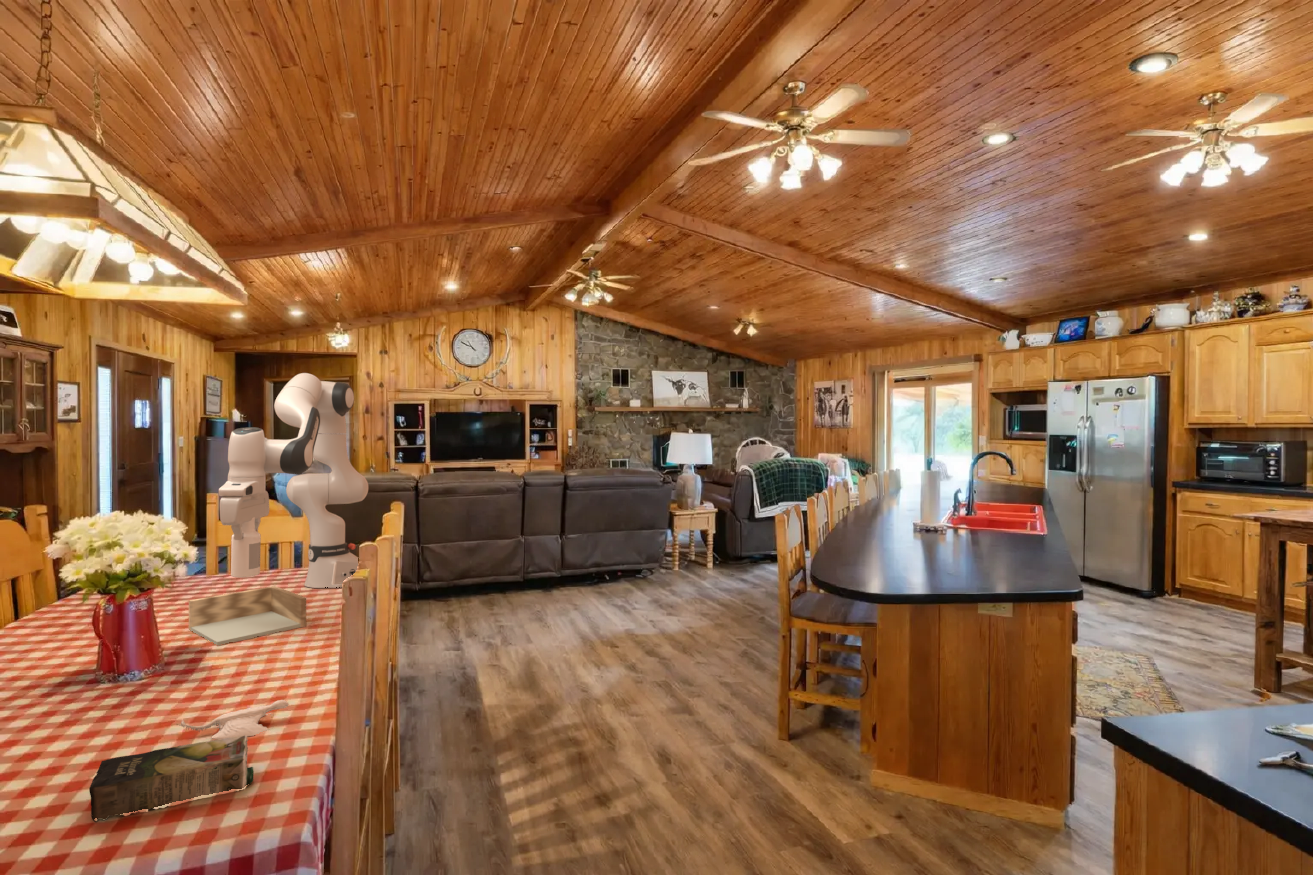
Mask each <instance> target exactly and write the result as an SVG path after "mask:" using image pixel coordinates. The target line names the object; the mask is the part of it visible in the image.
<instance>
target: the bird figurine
mask: <svg viewBox="0 0 1313 875" xmlns="http://www.w3.org/2000/svg"><path fill="white" fill-rule="evenodd" d="M289 705H290V704H289V702H287V701H286V700H284V699H280V700H279V699H278V700H276V701H273V702H272V703H270V704H267V705H259V706H254V707H248V708H245V709H238V710H236V711H230V712H228V713H224V714H221V715H219V716H217V717H216V718H213V719H212V720H211V721H210V722H209V723H208V724H204V725H199V726H198V725H197V726H196V725H189V724H187V723H185V721H184V720H182V721H181V722H180V723H181V724H177V723H176V726H180V727H183V728H185V730H186V731H187V730H188V731H189V730H190V729H191V731H198V732H200V731H202V732H203V731H206V730H207V729H210V728H211V727H212V726H217V729H219V730H218V732H216V733H215V734H214V735H212V736H211V737H210V738H211V739H213V740H220V739H225V738H231V737H238V736H245V735H247V737H254V735H256V734H259V733H260V732H263V731H265V732H268V731H270V729H273V728H274V727H271V728H269V729H268V728H267V727H268V726H263V724H259V721H260V720H261V719H262V718H263V717H264V716H265V715H266V716H268V714H271V713H272V711H274V710H280V709H287V708H288V707H289ZM269 712H270V713H269ZM271 715H272V714H271ZM267 730H268V731H267ZM273 730H274V729H273ZM263 733H264V732H263ZM259 735H260V734H259ZM256 736H257V735H256Z"/></svg>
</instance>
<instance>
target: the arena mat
mask: <svg viewBox="0 0 1313 875" xmlns="http://www.w3.org/2000/svg"><path fill="white" fill-rule="evenodd" d="M299 628H302V627H301V624H300V623H297V622H295V621H293V620H291V619H288V618H286V617H284V616H281V615H279V614H277V613H274V612H272V611H270V612H265V613H260V614H254V615H249V616H244V617H239V618H234V619H229V620H224V621H219V622H214V623H209V624H204V625H199V626H194V627H191V631H190V632H192V631H193V632H192V633H194V634H195V633H196V635H197V634H198V636H199V637H201V636H202V637H204V638H205V639H204V638H203V639H204V640H206V639H207V640H206V641H208V640H209V641H210V643H211V642H213V643H214V644H213V643H212V644H213V645H215V644H216V645H219V646H222V645H221V644H224V645H226V644H225V643H228V644H230V643H229V642H233V643H236V642H241V641H244V640H245V641H246V640H250V639H255V638H258V637H257V636H259V637H263V636H267V634H268V635H272V634H271V633H273V634H276V633H275V632H277V633H280V632H279V631H282V632H286V631H290V630H291V631H292V630H295V629H299ZM202 637H201V638H202ZM254 637H255V638H254ZM209 641H208V642H209ZM216 645H215V646H216Z"/></svg>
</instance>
